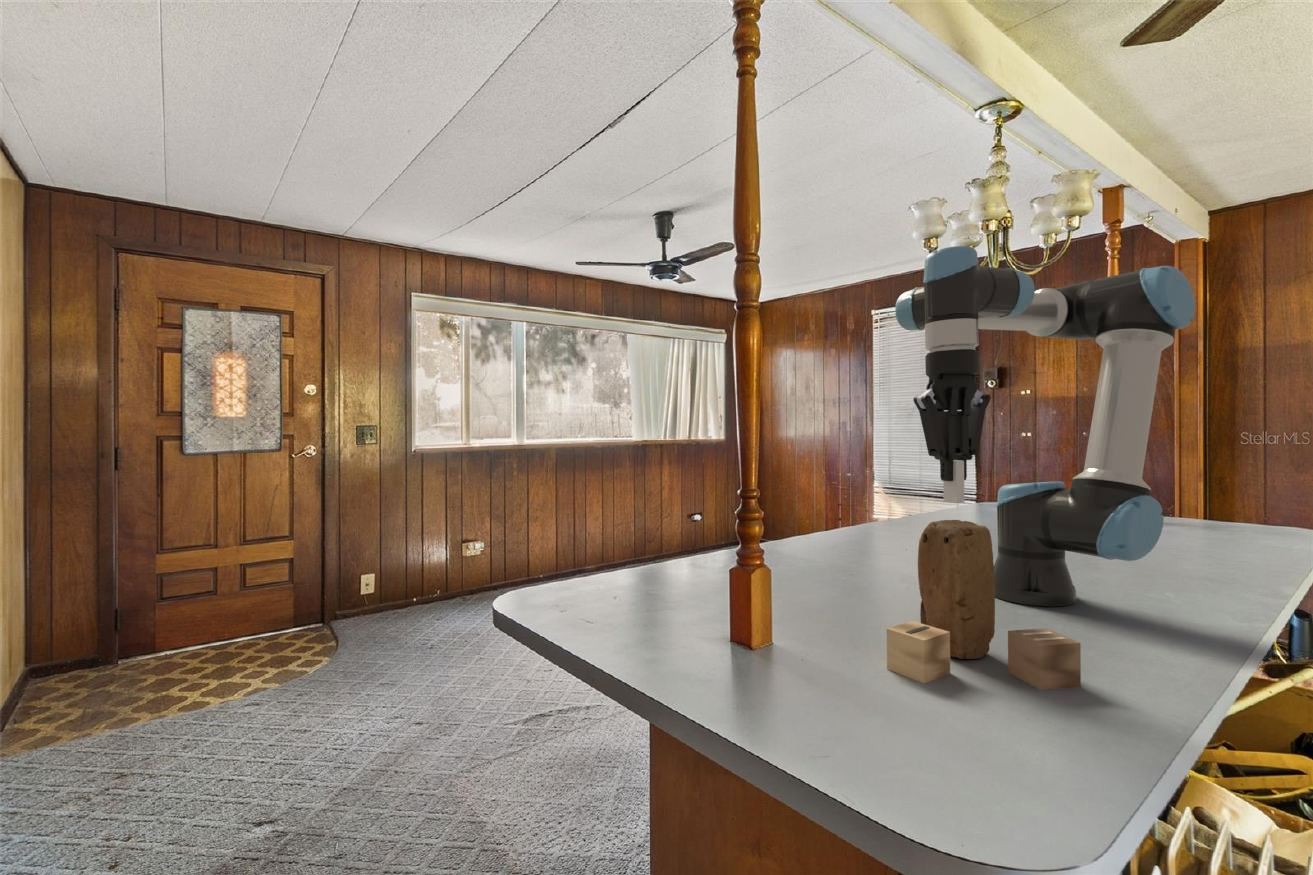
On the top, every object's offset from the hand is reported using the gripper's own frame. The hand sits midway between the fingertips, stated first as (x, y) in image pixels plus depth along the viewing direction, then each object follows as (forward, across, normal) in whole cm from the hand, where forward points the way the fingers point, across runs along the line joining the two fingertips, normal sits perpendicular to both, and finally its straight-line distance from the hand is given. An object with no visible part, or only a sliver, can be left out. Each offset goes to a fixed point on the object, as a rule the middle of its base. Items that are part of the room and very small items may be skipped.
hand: (953, 501), depth 96 cm
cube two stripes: (+23, -2, +13) cm, 27 cm away
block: (+23, 0, 0) cm, 23 cm away
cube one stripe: (+23, +12, +5) cm, 26 cm away
